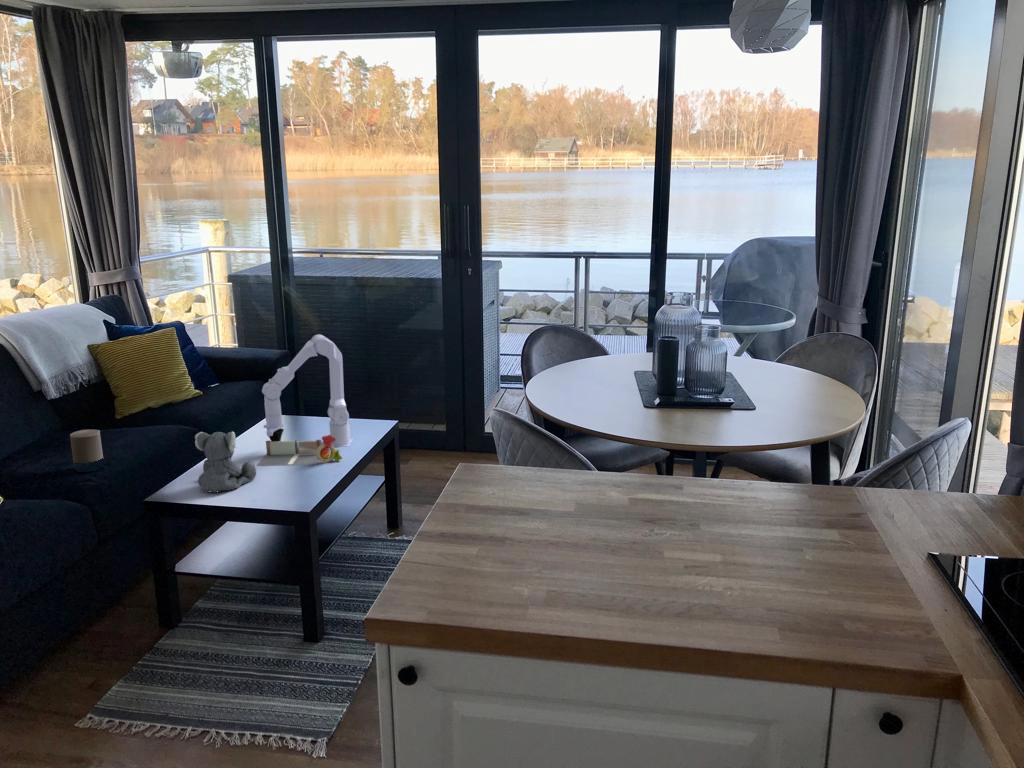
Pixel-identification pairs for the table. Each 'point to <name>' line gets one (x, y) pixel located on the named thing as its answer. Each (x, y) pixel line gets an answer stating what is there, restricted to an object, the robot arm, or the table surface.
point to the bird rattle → (324, 453)
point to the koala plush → (222, 463)
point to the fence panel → (281, 447)
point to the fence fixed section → (308, 447)
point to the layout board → (289, 459)
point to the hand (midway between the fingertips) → (276, 448)
